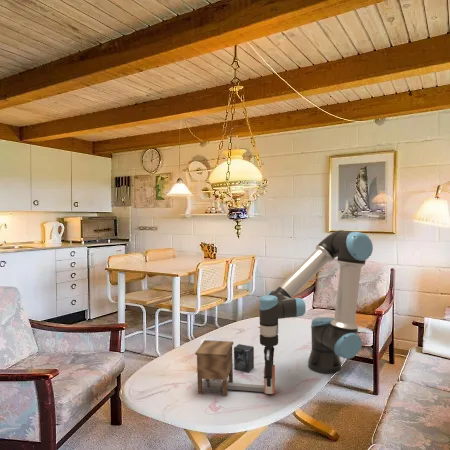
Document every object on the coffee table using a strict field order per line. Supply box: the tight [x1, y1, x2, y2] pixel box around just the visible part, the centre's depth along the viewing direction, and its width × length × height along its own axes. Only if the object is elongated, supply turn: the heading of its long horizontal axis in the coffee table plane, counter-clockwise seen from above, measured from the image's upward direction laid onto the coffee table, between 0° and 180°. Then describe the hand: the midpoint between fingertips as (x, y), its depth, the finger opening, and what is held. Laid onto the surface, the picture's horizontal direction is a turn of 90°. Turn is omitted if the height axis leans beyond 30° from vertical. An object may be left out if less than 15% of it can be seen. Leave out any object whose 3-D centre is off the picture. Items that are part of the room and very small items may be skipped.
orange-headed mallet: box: [221, 364, 276, 395], centre depth 161 cm, size 22×4×10 cm, turn 79°
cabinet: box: [194, 339, 234, 397], centre depth 165 cm, size 13×15×17 cm
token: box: [205, 380, 223, 393], centre depth 165 cm, size 6×6×2 cm
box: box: [233, 343, 255, 373], centre depth 183 cm, size 8×6×11 cm
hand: (269, 390), depth 160 cm, fingers closed on orange-headed mallet, 4 cm apart
